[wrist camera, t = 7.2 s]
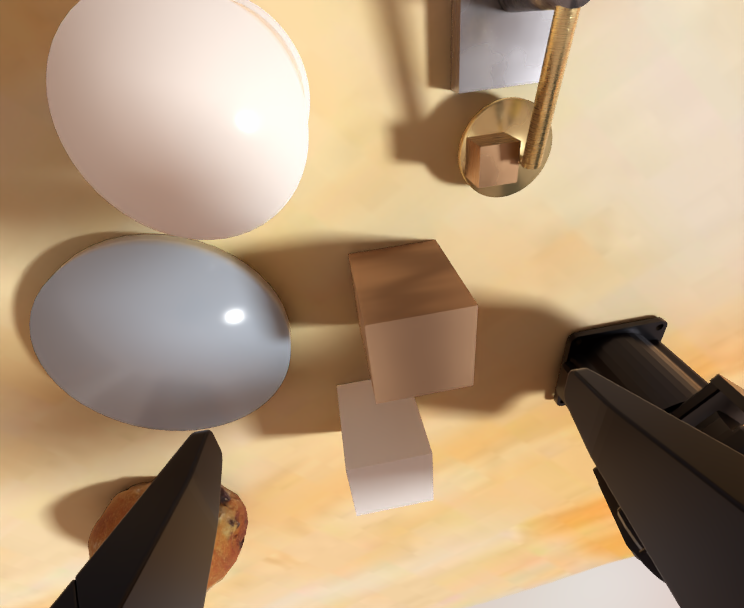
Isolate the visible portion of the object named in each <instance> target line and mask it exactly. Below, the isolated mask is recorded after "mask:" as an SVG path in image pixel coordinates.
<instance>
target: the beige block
mask: <svg viewBox="0 0 744 608" xmlns="http://www.w3.org/2000/svg"><path fill="white" fill-rule="evenodd" d="M337 394H338V403H339V412H340V421H341V430H342V439H343V448H344V457H345V466H346V473H347V477H348V481H349V485H350V489H351V494H352V498H353V502H354V506H355V510H356V515H357V516H359V515H364V514H369V513H373V512H378V511H383V510H388V509H393V508H397V507H402V506H407V505H412V504H417V503H421V502H426V501H431V500H433V462H432V451H431V448H430V445H429V441H428V438H427V435H426V432H425V429H424V426H423V423H422V419H421V416H420V413H419V410H418V407H417V404H416V401H415V397H411V398H406V399H400V400H395V401H390V402H385V403H380V404H376V401H375V397H374V392H373V387H372V382H371V379H370V380H364V381H359V382H353V383H348V384H342V385H337Z"/></svg>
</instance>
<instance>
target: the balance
mask: <svg viewBox="0 0 744 608" xmlns="http://www.w3.org/2000/svg"><path fill="white" fill-rule="evenodd" d="M589 1H590V0H452V45H451V90H452V91H454V92H457V93H466V92H473V91H480V90H487V89H494V88H501V87H508V86H515V85H523V84H530V83H537V82H539V83H538V88H537V93H536V97H535V102H534V103H533V102H531V101H529V100H525V99H522V98H515V97H510V98H503V99H499V100H497V101H494V102H492V103H490V104H488V105H487V106H485V107H484V108H482V109H481V110H480V111H479V112H478V113H477V114H476V115H475V116H474V117H473V118H472V119H471V121H470V122H469V124H468V125H467V127H466V128H465V130H464V132H463V135H462V137H461V140H460V144H459V149H458V164H459V169H460V172H461V174H462V176H463V178H464V180H465V181H466V182H467V183H468V185H469V186H470V187H472V188H473V189H474V190H475V191H477V192H478V193H480V194H482V195H485V196H489V197H504V196H508V195H511V194H514V193H516V192H518V191H520V190H521V189H523V188H525V187H526V186H527V185H529V184H530V183H531V182H532V181H533V180H534V179H535V178H536V177H537V175H538V174H539V173H540V172H541V170H542V169H543V167H544V165H545V163H546V161H547V159H548V157H549V153H550V150H551V145H552V129H551V122H552V118H553V114H554V111H555V107H556V103H557V99H558V95H559V91H560V87H561V83H562V79H563V75H564V71H565V67H566V63H567V59H568V55H569V52H570V48H571V44H572V40H573V36H574V32H575V28H576V24H577V20H578V16H579V12H580V8H581V7H582V6H584V5H585V4H586V3H588V2H589Z"/></svg>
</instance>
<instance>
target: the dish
mask: <svg viewBox="0 0 744 608" xmlns="http://www.w3.org/2000/svg"><path fill="white" fill-rule="evenodd" d="M29 326H30V337H31V341H32V345H33V348H34V351H35V353H36V355H37V357H38V359H39V361H40V363H41V365H42V366H43V368H44V369H45V371H46V372H47V374H48V375H49V376H50V377H51V378H52V379H53V380H54V382H55V383H56V384H57V385H58V386H59V387H60V388H62V389H63V390H64V391H65V392H66V393H67V394H68V395H70V396H71V397H73V398H74V399H75V400H77V401H78V402H80V403H81V404H83V405H85V406H86V407H88V408H90V409H92V410H94V411H96V412H98V413H100V414H102V415H104V416H107V417H109V418H112V419H115V420H117V421H120V422H123V423H127V424H131V425H135V426H139V427H144V428H150V429H158V430H170V431H186V430H199V429H206V428H211V427H216V426H220V425H224V424H227V423H230V422H233V421H235V420H238V419H240V418H242V417H244V416H246V415H248V414H250V413H252V412H253V411H255V410H257V409H258V408H259V407H261V406H262V405H263V404H264V403H266V402H267V401H268V400H269V399H270V398H271V397H272V396H273V395H274V394H275V392H276V391H277V390H278V388H279V387H280V386H281V384H282V382H283V380H284V378H285V376H286V373H287V370H288V367H289V362H290V356H291V330H290V325H289V319H288V316H287V314H286V311H285V308H284V306H283V304H282V302H281V301H280V299H279V297H278V295H277V294H276V293H275V291H274V290H273V289H272V287H271V286H270V285H269V284H268V283H267V282H266V281H265V280H264V279H263V277H262V276H261V275H260V274H258V273H257V272H256V271H255V270H253V269H252V268H251V267H250V266H248V265H247V264H246V263H244V262H243V261H241V260H239V259H238V258H236V257H235V256H233V255H231V254H229V253H227V252H225V251H223V250H221V249H219V248H217V247H214V246H211V245H208V244H205V243H203V242H200V241H196V240H192V239H188V238H181V237H177V236H170V235H162V234H139V235H128V236H122V237H117V238H113V239H108V240H105V241H103V242H100V243H97V244H94V245H92V246H90V247H88V248H86V249H84V250H82V251H80V252H79V253H77V254H76V255H74V256H73V257H72V258H70V259H69V260H68V261H67V262H65V263H64V264H63V265H62V266H61V267H60V268H59V269H58V270H57V271H56V272H55V274H54V275H53V276H52V277H51V278H50V279H49V280H48V281H47V282H46V283H45V284H44V286H43V287H42V288H41V290H40V292H39V293H38V295H37V297H36V298H35V301H34V304H33V307H32V310H31V315H30V324H29Z"/></svg>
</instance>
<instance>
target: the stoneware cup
mask: <svg viewBox="0 0 744 608" xmlns="http://www.w3.org/2000/svg"><path fill="white" fill-rule="evenodd" d="M46 88H47V98H48V103H49V109H50V114H51V117H52V120H53V123H54V126H55V129H56V132H57V134H58V136H59V138H60V141H61V143H62V145H63V147H64V149H65V151H66V152H67V154H68V156H69V157H70V159H71V161H72V162H73V164H74V165H75V167H76V168H77V169H78V171H79V172H80V173H81V175H82V176H83V177H84V179H85V180H86V181H87V182H88V183H89V184H90V185H91V186H92V187H93V188H94V190H95V191H96V192H97V193H99V194H100V195H101V196H102V197H103V198H104V199H105V200H106V201H107V202H109V203H110V204H111V205H113V206H114V207H115V208H117V209H118V210H119V211H121V212H122V213H123V214H125V215H127V216H128V217H130V218H132V219H134V220H135V221H137V222H139V223H141V224H143V225H145V226H147V227H149V228H152V229H154V230H157V231H160V232H163V233H166V234H169V235H173V236H177V237H181V238H189V239H196V240H214V239H225V238H229V237H234V236H238V235H241V234H244V233H246V232H249V231H251V230H253V229H255V228H257V227H259V226H261V225H263V224H264V223H266V222H267V221H268V220H270V219H271V218H273V217H274V216H275V215H276V214H277V213H278V212H279V211H280V210H281V209H282V208H283V207H284V206H285V205H286V203H287V202H288V201H289V200H290V198H291V197H292V195H293V193H294V192H295V190H296V188H297V186H298V184H299V182H300V179H301V177H302V175H303V171H304V167H305V164H306V159H307V152H308V119H309V111H310V93H309V84H308V80H307V75H306V71H305V68H304V65H303V62H302V59H301V57H300V55H299V53H298V51H297V49H296V47H295V45H294V44H293V42H292V40H291V39H290V37H289V36H288V34H287V33H286V32H285V30H284V29H283V28H282V27H281V25H280V24H279V23H278V22H277V21H276V20H275V19H274V18H273V17H272V16H271V15H269V14H268V13H267V12H266V11H264V10H263V9H262V8H261V7H259V6H258V5H256V4H254V3H253V2H251V1H249V0H80V1H79V2H78V3H77V4H76V5H75V6H74V7H73V8H72V9H71V10H70V11H69V12H68V14H67V15H66V17H65V18H64V19H63V21H62V22H61V24H60V25H59V28H58V30H57V32H56V34H55V36H54V38H53V41H52V44H51V48H50V52H49V55H48V61H47V71H46Z"/></svg>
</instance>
